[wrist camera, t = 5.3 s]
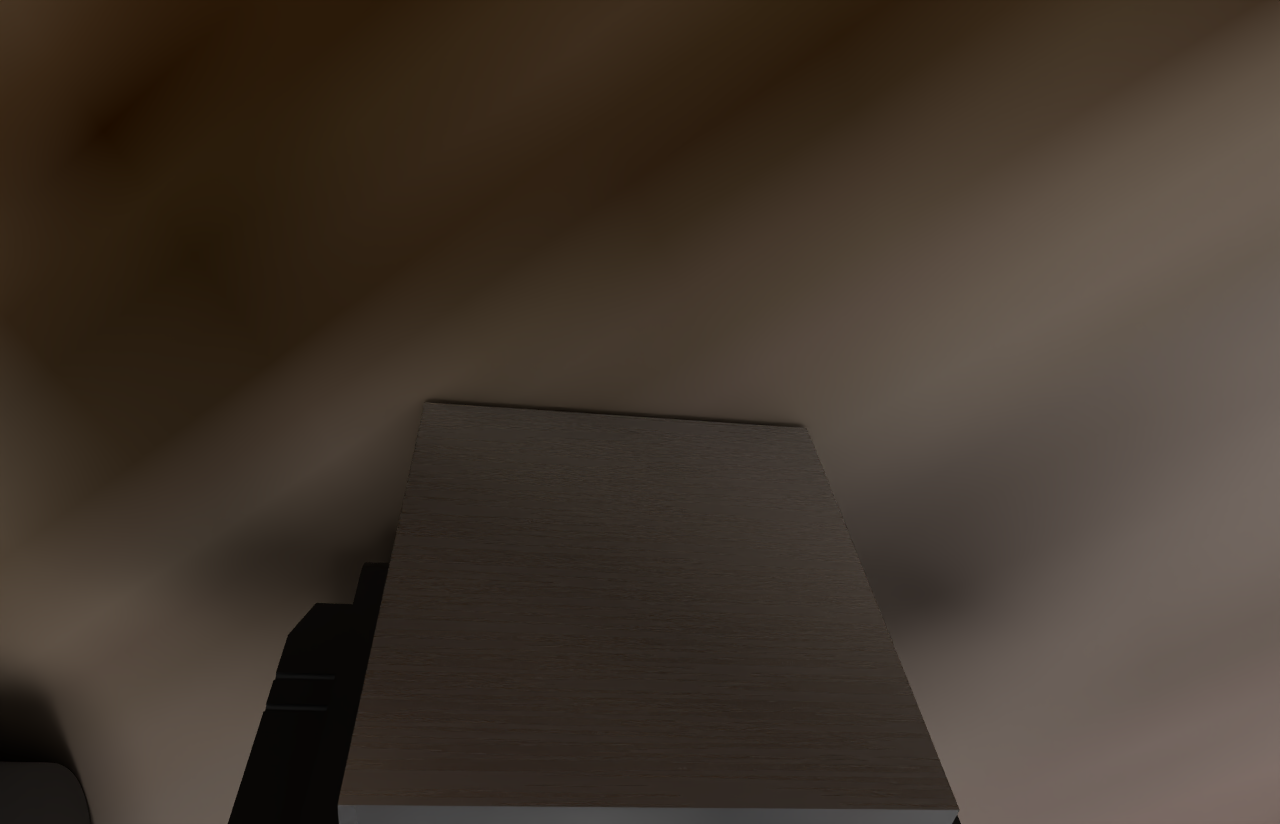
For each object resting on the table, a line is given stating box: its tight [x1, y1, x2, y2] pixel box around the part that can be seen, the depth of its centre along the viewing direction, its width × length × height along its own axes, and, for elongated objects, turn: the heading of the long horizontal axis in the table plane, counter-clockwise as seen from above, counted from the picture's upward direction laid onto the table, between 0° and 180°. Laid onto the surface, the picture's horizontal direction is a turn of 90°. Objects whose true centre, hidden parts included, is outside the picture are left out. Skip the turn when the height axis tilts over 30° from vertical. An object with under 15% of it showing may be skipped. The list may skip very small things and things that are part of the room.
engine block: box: [338, 402, 959, 824], centre depth 10 cm, size 6×4×5 cm
